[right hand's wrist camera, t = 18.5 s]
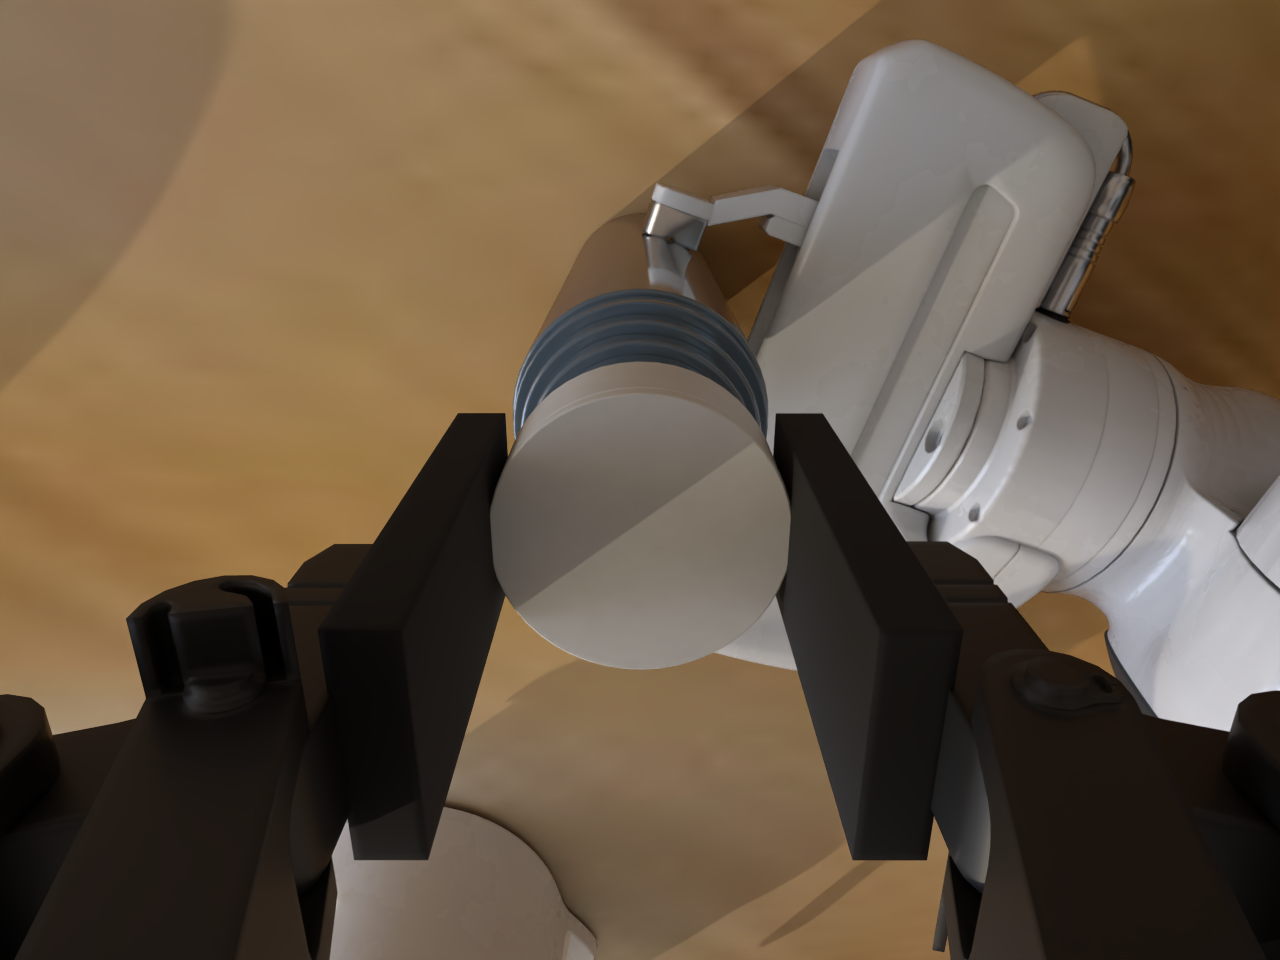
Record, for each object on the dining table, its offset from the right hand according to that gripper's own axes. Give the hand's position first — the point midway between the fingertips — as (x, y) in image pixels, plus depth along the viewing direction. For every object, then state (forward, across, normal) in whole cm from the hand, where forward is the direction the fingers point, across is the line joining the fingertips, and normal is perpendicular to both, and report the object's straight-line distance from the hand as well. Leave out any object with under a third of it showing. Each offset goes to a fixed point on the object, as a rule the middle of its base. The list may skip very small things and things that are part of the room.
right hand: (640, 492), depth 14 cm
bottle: (+21, 0, 0) cm, 21 cm away
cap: (-2, 0, 0) cm, 2 cm away
